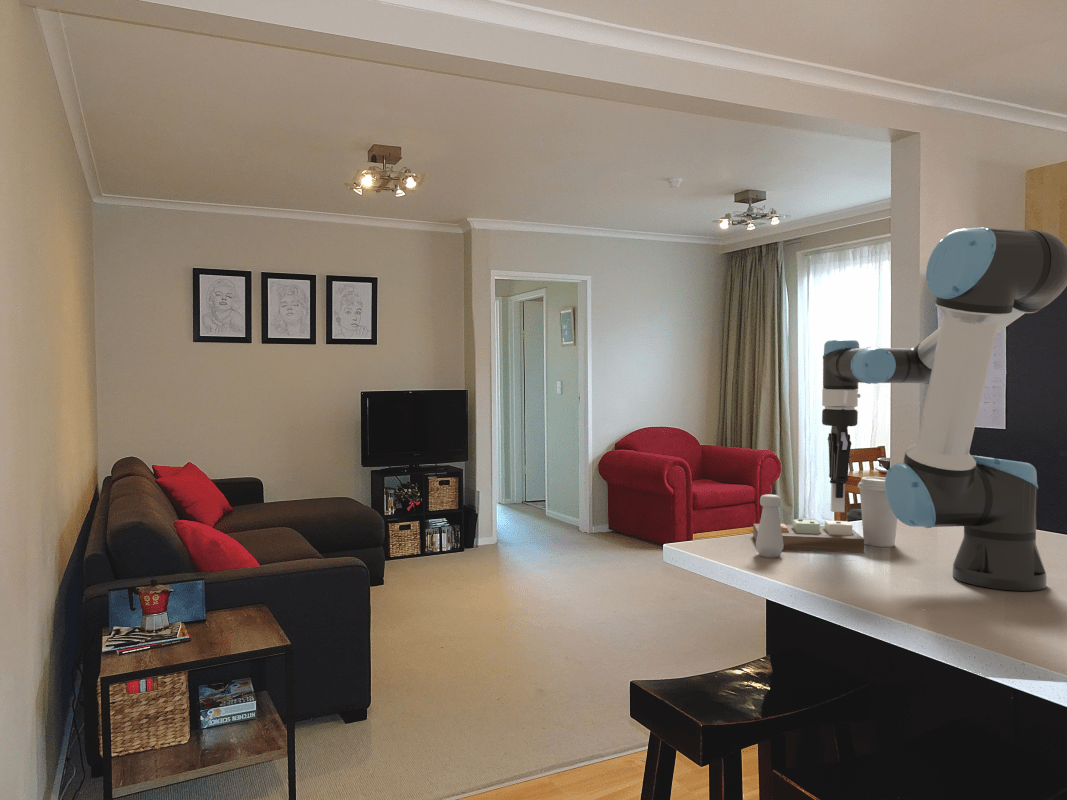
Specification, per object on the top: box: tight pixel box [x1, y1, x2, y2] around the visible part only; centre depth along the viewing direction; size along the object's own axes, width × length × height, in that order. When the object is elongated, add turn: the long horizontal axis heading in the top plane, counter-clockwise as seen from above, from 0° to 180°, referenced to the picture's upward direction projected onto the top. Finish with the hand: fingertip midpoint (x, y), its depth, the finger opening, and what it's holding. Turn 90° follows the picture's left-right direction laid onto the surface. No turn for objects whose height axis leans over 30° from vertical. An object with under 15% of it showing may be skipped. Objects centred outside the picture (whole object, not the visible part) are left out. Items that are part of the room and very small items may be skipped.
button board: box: [752, 523, 865, 553], centre depth 180 cm, size 14×22×3 cm, turn 80°
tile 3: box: [780, 523, 787, 533], centre depth 181 cm, size 5×5×3 cm
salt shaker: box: [755, 493, 784, 559], centre depth 168 cm, size 6×6×13 cm
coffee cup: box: [857, 476, 898, 548], centre depth 180 cm, size 10×10×15 cm
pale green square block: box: [792, 519, 821, 534], centre depth 180 cm, size 5×5×3 cm
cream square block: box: [824, 520, 853, 535], centre depth 179 cm, size 5×5×3 cm
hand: (837, 511), depth 179 cm, fingers closed
